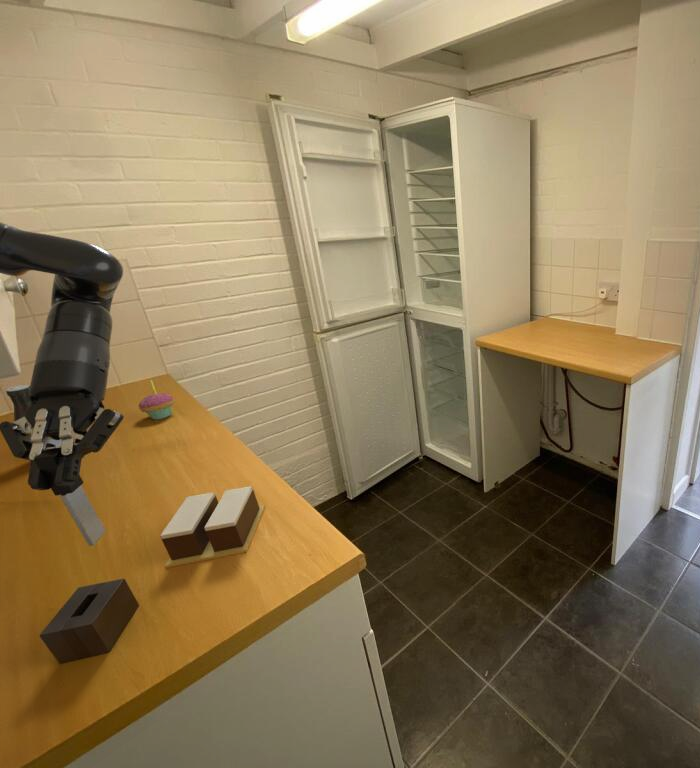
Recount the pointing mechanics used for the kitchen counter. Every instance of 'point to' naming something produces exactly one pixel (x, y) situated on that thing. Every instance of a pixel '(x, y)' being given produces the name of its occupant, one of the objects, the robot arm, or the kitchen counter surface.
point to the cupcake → (157, 404)
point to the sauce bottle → (20, 401)
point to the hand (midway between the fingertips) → (52, 486)
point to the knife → (72, 497)
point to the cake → (212, 526)
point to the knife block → (90, 621)
